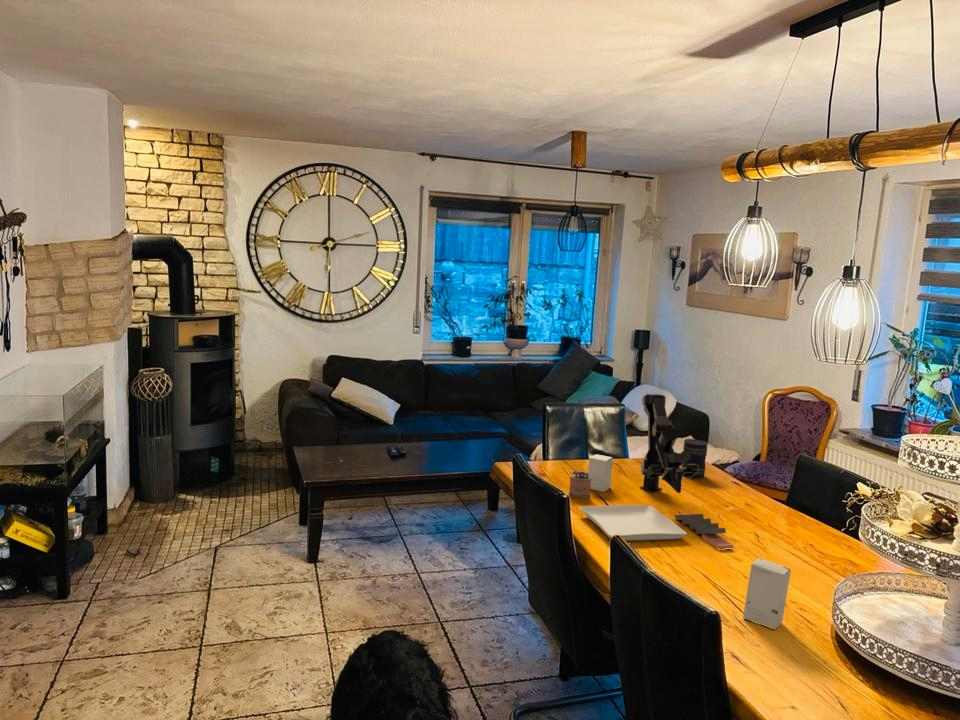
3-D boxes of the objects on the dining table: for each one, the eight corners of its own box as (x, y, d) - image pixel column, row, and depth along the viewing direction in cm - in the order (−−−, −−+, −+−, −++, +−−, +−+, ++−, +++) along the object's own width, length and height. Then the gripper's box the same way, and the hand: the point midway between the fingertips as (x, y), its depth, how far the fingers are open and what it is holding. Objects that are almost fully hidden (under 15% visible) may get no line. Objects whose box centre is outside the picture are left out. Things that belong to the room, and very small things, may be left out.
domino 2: (682, 519, 243) (697, 518, 234) (695, 519, 244) (710, 518, 235) (682, 524, 243) (697, 523, 233) (695, 524, 244) (711, 523, 235)
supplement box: (611, 488, 280) (613, 457, 278) (603, 492, 274) (606, 460, 272) (593, 484, 284) (596, 453, 282) (586, 488, 278) (588, 457, 276)
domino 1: (675, 514, 248) (690, 514, 238) (687, 514, 249) (703, 513, 239) (675, 519, 247) (690, 519, 238) (688, 519, 248) (703, 518, 239)
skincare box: (742, 619, 177) (748, 563, 175) (750, 611, 181) (757, 556, 179) (777, 632, 171) (783, 573, 169) (784, 623, 176) (791, 566, 174)
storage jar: (707, 479, 299) (710, 445, 297) (684, 478, 299) (687, 444, 298) (700, 472, 309) (703, 439, 307) (678, 471, 309) (681, 438, 307)
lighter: (589, 496, 268) (591, 470, 267) (590, 498, 265) (592, 473, 264) (568, 494, 269) (570, 468, 268) (568, 497, 266) (570, 471, 264)
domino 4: (695, 528, 235) (711, 528, 225) (708, 528, 236) (725, 527, 226) (695, 534, 234) (711, 533, 225) (709, 533, 235) (725, 533, 226)
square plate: (609, 546, 220) (610, 534, 220) (577, 515, 247) (578, 505, 246) (687, 543, 227) (689, 531, 226) (648, 513, 253) (649, 503, 253)
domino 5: (702, 533, 231) (719, 545, 221) (715, 533, 232) (733, 544, 222) (701, 538, 231) (718, 550, 221) (715, 538, 232) (732, 549, 222)
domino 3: (689, 524, 239) (704, 523, 229) (702, 523, 240) (718, 522, 230) (689, 529, 238) (705, 528, 229) (702, 528, 239) (718, 528, 230)
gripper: (652, 443, 250) (665, 483, 241) (699, 442, 255) (713, 481, 246) (640, 458, 259) (652, 497, 250) (685, 457, 264) (698, 495, 255)
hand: (679, 492), depth 250 cm, fingers closed
